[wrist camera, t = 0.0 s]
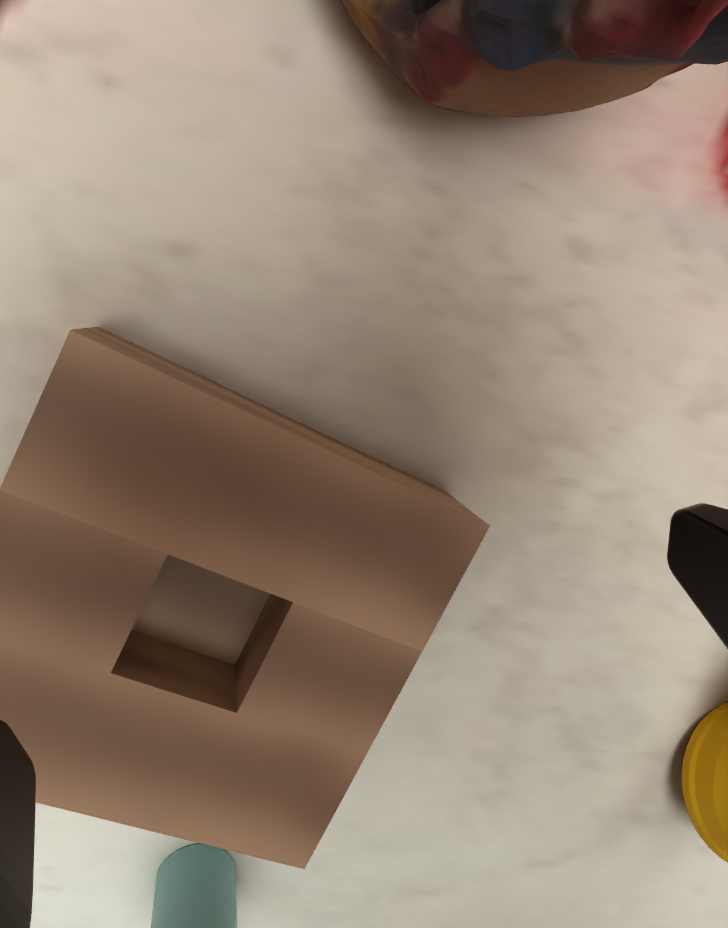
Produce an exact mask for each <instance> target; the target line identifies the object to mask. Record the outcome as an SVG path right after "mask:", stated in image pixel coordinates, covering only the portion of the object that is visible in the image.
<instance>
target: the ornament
mask: <svg viewBox="0 0 728 928" xmlns="http://www.w3.org/2000/svg"><path fill="white" fill-rule="evenodd" d="M682 790H683V795H684V800H685V805H686V808H687V811H688V813H689V816H690V819H691V821H692V823H693V825H694V827H695V828H696V830H697V832H698V834H699V835H700V837H701V838H702V839H703V840H704V842H705V843H706V844H707V845H708V847H709V848H710V849H711V850H712V851H714V852H715V853H716V854H717V855H718V856H719V857H720V858H722V859H723V860H725V861H726V862H728V702H727V703H724V704H722V705H720V706H718V707H717V708H715V709H714V710H712V711H711V712H710V713H709V714H708V715H707V716H706V717H705V718H704V719H703V720H702V721H701V722H700V723H699V724H698V726H697V727H696V729H695V730H694V732H693V733H692V736H691V738H690V740H689V742H688V744H687V747H686V751H685V755H684V759H683V766H682Z"/></svg>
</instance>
